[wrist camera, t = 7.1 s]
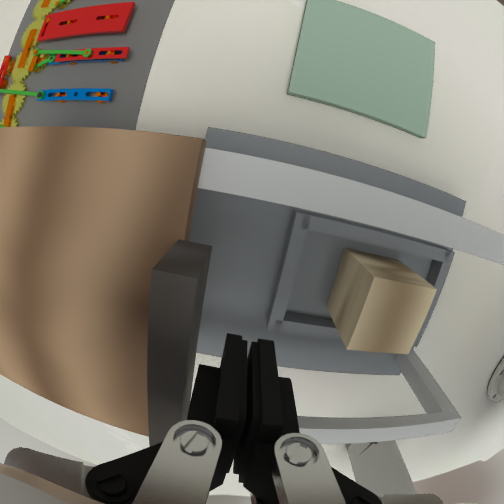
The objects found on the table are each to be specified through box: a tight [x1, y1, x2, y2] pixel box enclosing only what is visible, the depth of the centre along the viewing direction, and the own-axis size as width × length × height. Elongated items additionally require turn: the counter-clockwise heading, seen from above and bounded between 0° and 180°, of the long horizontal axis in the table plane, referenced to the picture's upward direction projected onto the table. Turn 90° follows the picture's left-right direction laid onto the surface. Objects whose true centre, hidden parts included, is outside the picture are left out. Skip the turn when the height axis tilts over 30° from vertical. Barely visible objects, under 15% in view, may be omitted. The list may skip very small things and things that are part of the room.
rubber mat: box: [287, 0, 435, 138], centre depth 19 cm, size 12×10×1 cm
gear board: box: [0, 0, 175, 130], centre depth 21 cm, size 45×2×19 cm
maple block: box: [327, 248, 437, 354], centre depth 20 cm, size 5×5×6 cm
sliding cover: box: [0, 126, 212, 447], centre depth 10 cm, size 15×15×4 cm
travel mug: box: [346, 440, 417, 496], centre depth 22 cm, size 6×7×20 cm
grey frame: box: [189, 127, 504, 444], centre depth 19 cm, size 22×18×12 cm
